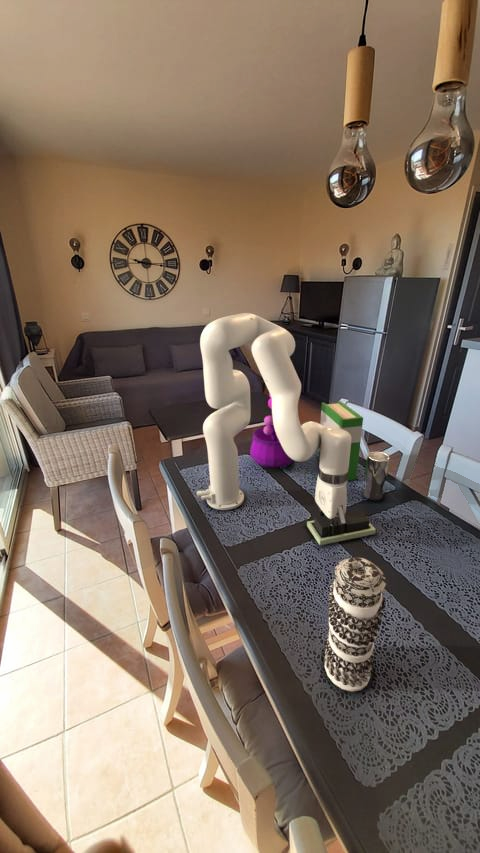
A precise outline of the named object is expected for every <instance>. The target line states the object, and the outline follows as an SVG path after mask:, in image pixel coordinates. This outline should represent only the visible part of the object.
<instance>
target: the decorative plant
mask: <svg viewBox="0 0 480 853" xmlns="http://www.w3.org/2000/svg"><path fill="white" fill-rule="evenodd" d="M268 396H269V399H268V401H267V406H268V408H269V409H271V410H272V398H271V395H270V393H269V395H268ZM263 422H264V424H265V426H261V427H259V428H257V429H255V430H254V432H253V436H252V442H251V444H250V450H249V452H250V453H249V454H250V457H251V459H252V460H253V461H254V462H255V463H256V464H258V465H260V466H262V467H266V468H273V469H274V468H283V467H287V466H289V465H291V464H292V463H294V462H295V461H294V460H293V459H291V458H290V457H289V456H288V455H287V454H286V452H285V451H284V449H283V447H282V445H281V443H280V441H279V439H278V437H277V435H276V432H275V429H274V425H273V416H272V415H266V416H265V417H264V419H263Z"/></svg>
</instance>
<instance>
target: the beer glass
mask: <svg viewBox="0 0 480 853" xmlns="http://www.w3.org/2000/svg"><path fill="white" fill-rule="evenodd" d="M389 469H390V456H389V455H388V454H387V453H385V452H382V451H371V452H369V453H367V456H366V462H365V468H364V474H365V488H364V491H363V496H364V497H365V498H367V499H369V500H372V501H380V500H382V499H383V498H384V492H383V490H384V485H385V483H386V481H387V477H388V474H389Z"/></svg>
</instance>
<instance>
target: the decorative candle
mask: <svg viewBox="0 0 480 853" xmlns="http://www.w3.org/2000/svg"><path fill="white" fill-rule="evenodd" d="M334 577H335V578H333V579H332V584H330V585H329V590H330V591H329V593H328V604H329V607H328V612H327V616H328V626H329V630H328V632H327V634H326V635H327V637H326V640H325V642H326V644H325V652H324V669H325V672H326V675H327V677H328V678H329V679H330V681H331V682H332V683H333V684H334V685H335V686H336V687H339V689H341V690H344V691H348V692H357V691H361V690H363V689H364V688H365V687H367V686H368V684H369V682H370V679H371V676H372V672H371V671H372V670H373V666H372V665H373V663H374V658H375V642H376V639H377V637H378V634H379V631H380V629H381V626H379V625H381V624H382V622H383V619H382V617H384V615H385V614H384V611H383V610H385V609H386V607H387V604H386V598H385V597H384V595H383V591H384V589H385V587H386V585H387V581H386V575H385V574H384V572H383V571H382V570H381V568H379V567H378V566H377V565H375V563H373V562H372V561H370V560H368V559H366V558H363V557H357V556H356V557H355V556H354V557H349V558H344V559H343V560H341V561H339V562H338V563H337V564H336V566H335V567H334Z"/></svg>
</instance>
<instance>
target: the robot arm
mask: <svg viewBox="0 0 480 853" xmlns="http://www.w3.org/2000/svg"><path fill="white" fill-rule="evenodd" d="M245 345H251V350H250V351H251V354H252V357H253V359H254V362H255V364H256V367H257V369H258V371H259V373H260V375H261V377H262V379H263V382H264V383H265V384H264V385H265V386H266V388H267V390H268V392H269V394H270V395H271V398H272V409H271V416H273V425H274V429H275V432H276V435H277V437H278V439H279V441H280V443H281V445H282V447H283V449H284V451H285V452H286V454H287V455H288V456H289V457H290V458H291V459H293V460H294V461H293V462H299V463H302V462H306V461H308V460H310V459H311V457H313V456H314V455H315V453H316V452H319V451H320V460H319V463H318V464H319V466H318V467H319V468H318V475H317V477H316V478H317V479H316V483H315V484H316V485H315V493H314V501H315V503H316V505H317V506H318V510H319V516H324V515H326V516H327V517H328V518H329V519H330V524H329V529H328V536H329V537H331V536H336V535H339V532H340V525H343V524H346V522H345V518H344V516H345V513H347V505H348V504H347V502H348V493H347V492H348V487H347V483H348V480H347V479H348V469H349V459H350V449H351V435H350V434H349V433H348V432H347V431H345V430H343V429H336V428H333V429H332V428H329V427H327V426H324V425H322V424H320V423H319V422H316V421H306V422H304V423H303V424H301V422H300V418H299V417H300V416H299V400H300V397H301V392H302V382H301V380H300V378H299V376H298V373H297V371H296V369H295V366H294V364H293V362H292V360H291V356H292V355H293V354H294V353H295V349H296V341H295V338H294V336H293V334H291V332H290V331H288V330H287V329H286V328H284V327H282V326H280V325H278V324H275V323H274V322H271V321H270V320H267V319H265V318H263V317H261V316H259V315H256V314H254V313H250V312H243V313H242V312H241V313H237V314H231V315H227V316H223V317H220V318H217V319H215V320H212V321H211V322H210V323H208V324H206V326H205V327H204V328H203V330H202V332H201V334H200V338H199V346H200V353H201V359H202V369H203V370H202V372H203V383H204V396H205V400H206V403H207V404H208V406H209V407H210V408H212V409H216V410H215V411H214V412H212V413H211V414H209V415H208V416H207V417H206V418H205V420H204V422H203V424H202V433H203V437H204V439H205V444H206V448H207V460H208V472H209V485H208V488H207V489H205V490H197V491H196V497H197V498H200V499H201V501H206V503H207V504H208V506H209V507H211V508H213V509H215V510H219V511H229V510H234V509H236V508H239V506H241V505H242V504H243V503H244V501H245V493H244V492H243V490H241V489H240V473H239V451H238V447H237V444H236V443H235V440H234V438H235V437H236V436H237V435H238V434H240V433H241V432H242V431H244V430H245V429H246V428H247V427H248V426H249V424H250V422H251V416H252V415H251V414H252V413H251V411H252V410H251V408H252V407H251V386H250V382H249V379H248V378H247V376H246V374H244V373H243V372H242V371H241V370H238V369H234V362H233V358H232V355H231V353H230V350H233V349H235V348H240V347H243V346H245ZM335 517H337V521H334V518H335Z"/></svg>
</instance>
